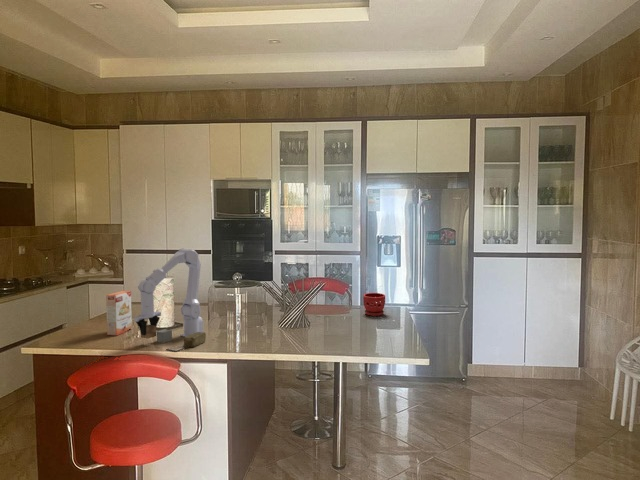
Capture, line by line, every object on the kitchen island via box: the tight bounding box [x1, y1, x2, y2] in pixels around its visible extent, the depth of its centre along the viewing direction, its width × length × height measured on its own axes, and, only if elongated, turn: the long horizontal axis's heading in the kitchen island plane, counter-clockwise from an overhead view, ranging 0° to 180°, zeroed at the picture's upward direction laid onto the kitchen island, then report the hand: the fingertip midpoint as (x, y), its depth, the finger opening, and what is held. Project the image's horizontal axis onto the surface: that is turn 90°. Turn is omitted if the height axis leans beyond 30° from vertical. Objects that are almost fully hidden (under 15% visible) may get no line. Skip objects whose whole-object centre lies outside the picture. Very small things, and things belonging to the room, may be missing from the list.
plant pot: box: [362, 292, 386, 317], centre depth 299 cm, size 13×13×12 cm
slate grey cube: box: [156, 328, 173, 343], centre depth 244 cm, size 5×5×5 cm
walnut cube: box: [139, 324, 157, 339], centre depth 238 cm, size 5×5×5 cm
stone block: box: [183, 331, 207, 348], centre depth 237 cm, size 6×12×5 cm, turn 161°
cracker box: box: [105, 290, 133, 337], centre depth 260 cm, size 14×6×21 cm, turn 168°
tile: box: [165, 345, 187, 353], centre depth 229 cm, size 6×6×1 cm
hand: (148, 333), depth 238 cm, fingers closed on walnut cube, 5 cm apart
